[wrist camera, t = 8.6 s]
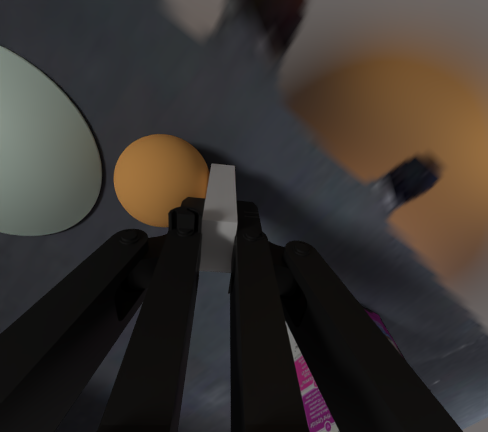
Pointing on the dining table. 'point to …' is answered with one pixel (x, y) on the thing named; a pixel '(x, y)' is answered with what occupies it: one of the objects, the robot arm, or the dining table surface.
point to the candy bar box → (314, 404)
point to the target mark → (42, 153)
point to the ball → (159, 177)
